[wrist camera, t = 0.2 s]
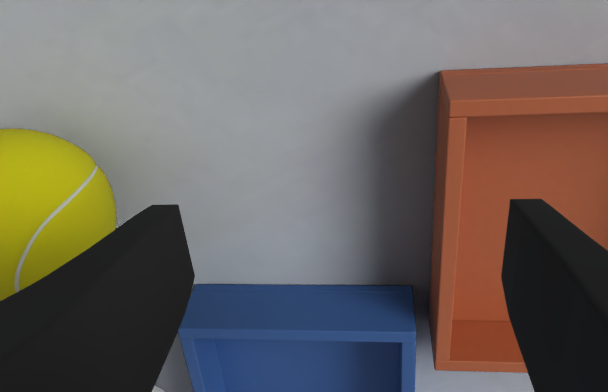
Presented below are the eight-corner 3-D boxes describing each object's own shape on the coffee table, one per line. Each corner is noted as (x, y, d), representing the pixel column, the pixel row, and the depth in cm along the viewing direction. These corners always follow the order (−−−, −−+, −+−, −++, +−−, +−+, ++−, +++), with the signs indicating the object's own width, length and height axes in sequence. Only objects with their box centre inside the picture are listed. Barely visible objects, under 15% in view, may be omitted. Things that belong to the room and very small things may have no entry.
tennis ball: (147, 126, 23) (66, 221, 17) (135, 258, 26) (66, 375, 20) (-23, 83, 23) (-166, 163, 17) (-11, 222, 26) (-125, 329, 20)
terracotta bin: (661, 325, 25) (693, 377, 23) (428, 321, 26) (434, 370, 24) (748, 56, 19) (806, 87, 16) (439, 70, 20) (449, 100, 18)
